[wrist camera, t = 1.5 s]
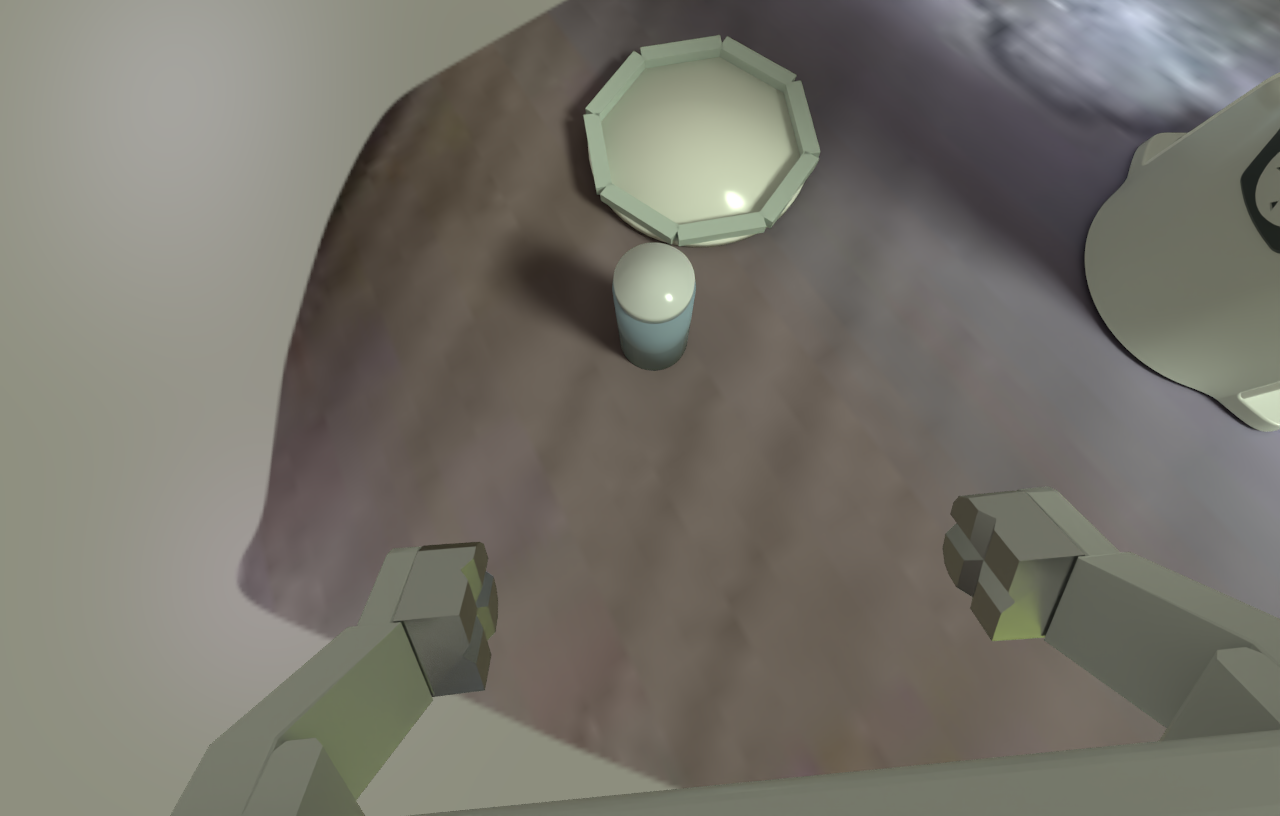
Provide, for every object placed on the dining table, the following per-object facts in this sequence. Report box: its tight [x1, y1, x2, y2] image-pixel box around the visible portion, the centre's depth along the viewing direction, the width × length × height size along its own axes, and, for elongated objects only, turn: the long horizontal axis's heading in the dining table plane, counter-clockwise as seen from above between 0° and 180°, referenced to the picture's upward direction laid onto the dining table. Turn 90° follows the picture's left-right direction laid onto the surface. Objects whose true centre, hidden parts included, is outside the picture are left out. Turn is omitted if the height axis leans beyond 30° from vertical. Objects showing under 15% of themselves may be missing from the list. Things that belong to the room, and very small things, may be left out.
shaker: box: [612, 243, 696, 371], centre depth 32 cm, size 4×4×8 cm
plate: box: [583, 35, 820, 247], centre depth 38 cm, size 14×14×2 cm
